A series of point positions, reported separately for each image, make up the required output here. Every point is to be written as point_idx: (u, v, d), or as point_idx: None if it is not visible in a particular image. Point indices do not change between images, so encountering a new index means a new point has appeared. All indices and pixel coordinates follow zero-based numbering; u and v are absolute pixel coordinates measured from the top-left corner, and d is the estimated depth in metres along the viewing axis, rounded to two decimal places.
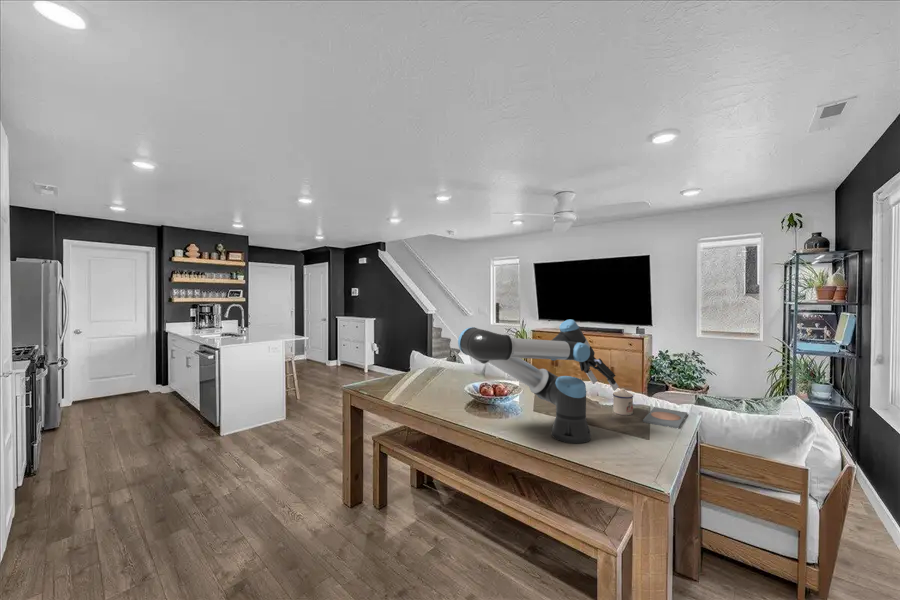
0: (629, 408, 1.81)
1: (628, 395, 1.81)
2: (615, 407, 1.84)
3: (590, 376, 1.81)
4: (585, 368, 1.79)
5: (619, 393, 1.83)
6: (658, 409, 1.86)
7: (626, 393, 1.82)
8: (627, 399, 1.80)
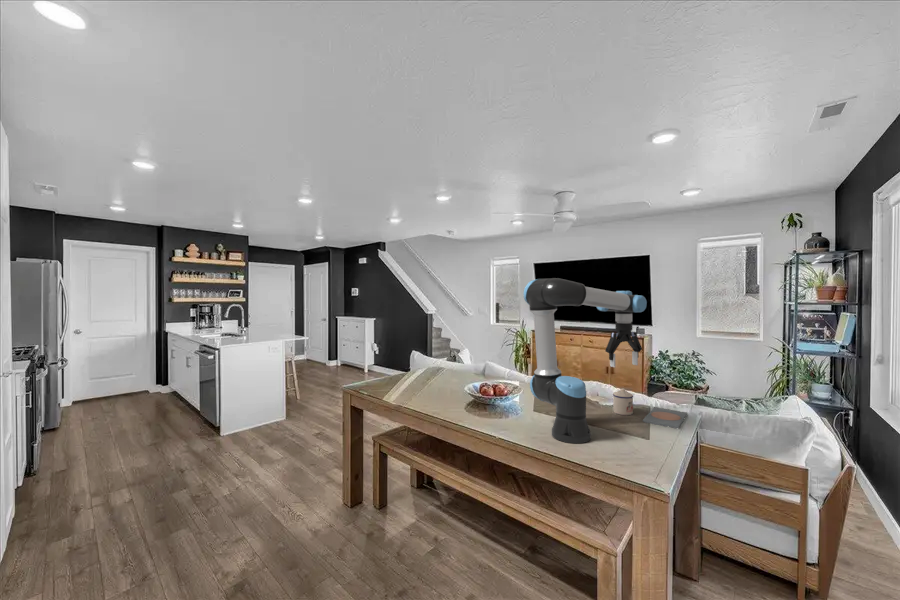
0: (629, 408, 1.81)
1: (628, 395, 1.81)
2: (615, 407, 1.84)
3: None
4: (616, 346, 1.82)
5: (619, 393, 1.83)
6: (658, 409, 1.86)
7: (626, 393, 1.82)
8: (627, 399, 1.80)
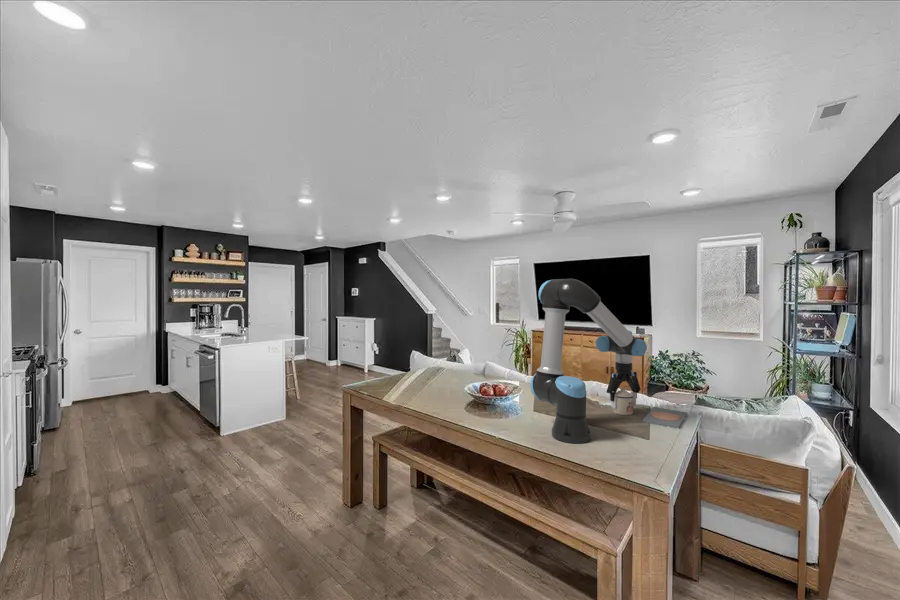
0: (629, 408, 1.81)
1: (628, 395, 1.81)
2: None
3: None
4: (617, 387, 1.83)
5: (619, 393, 1.83)
6: (658, 409, 1.86)
7: (626, 393, 1.82)
8: (627, 399, 1.80)
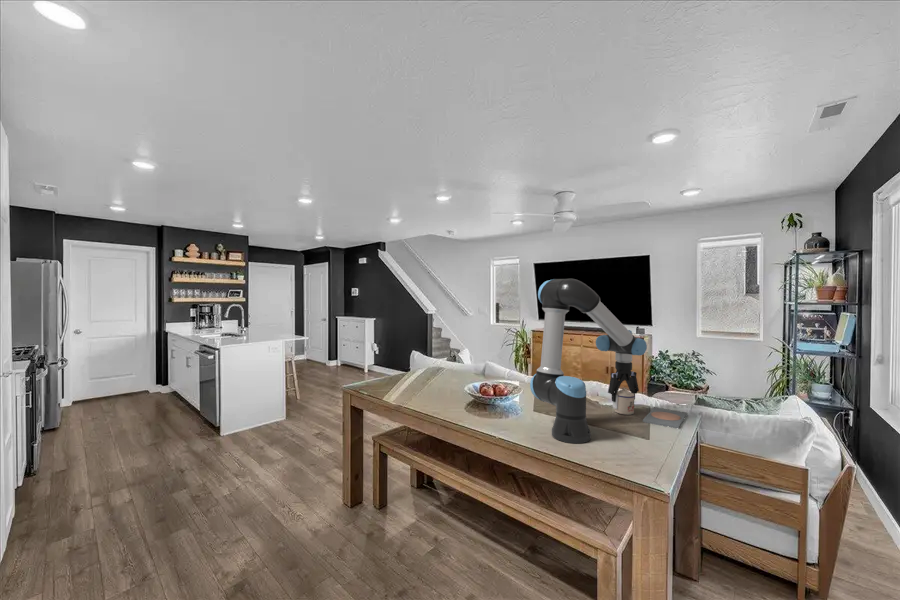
0: (630, 408, 1.81)
1: (630, 394, 1.81)
2: None
3: None
4: (618, 387, 1.83)
5: (621, 392, 1.83)
6: (658, 409, 1.86)
7: (628, 392, 1.82)
8: (628, 398, 1.81)
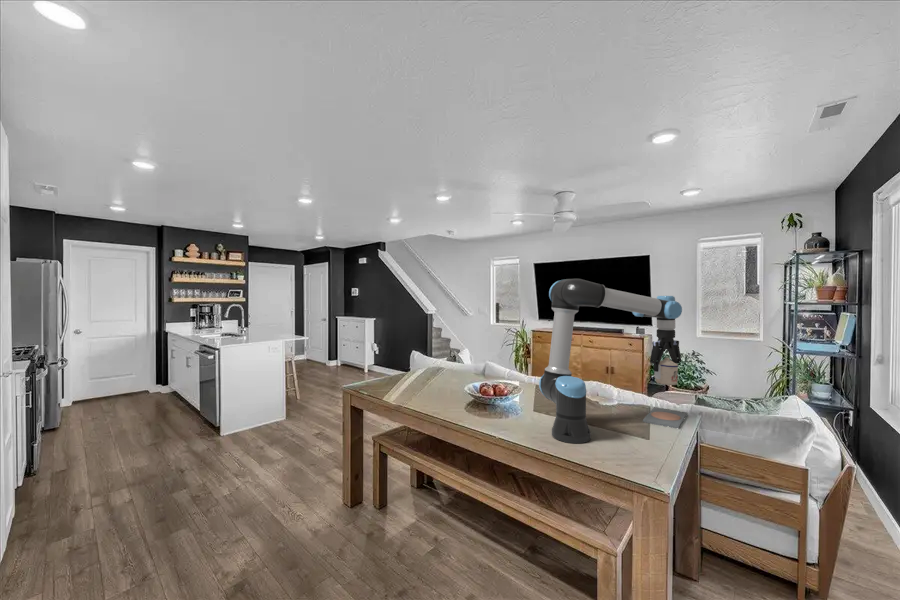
0: (674, 378, 1.71)
1: (673, 364, 1.72)
2: None
3: None
4: (661, 356, 1.73)
5: (663, 362, 1.73)
6: (658, 409, 1.86)
7: (671, 362, 1.73)
8: (672, 368, 1.71)
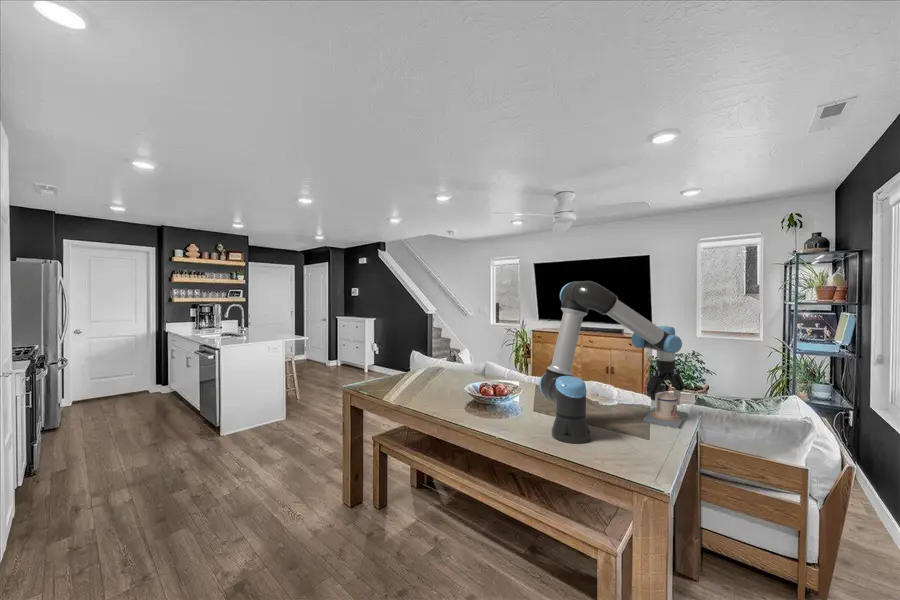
0: (673, 412, 1.71)
1: (672, 398, 1.72)
2: (658, 411, 1.74)
3: None
4: (659, 385, 1.73)
5: (662, 396, 1.74)
6: None
7: (670, 396, 1.73)
8: (671, 402, 1.71)
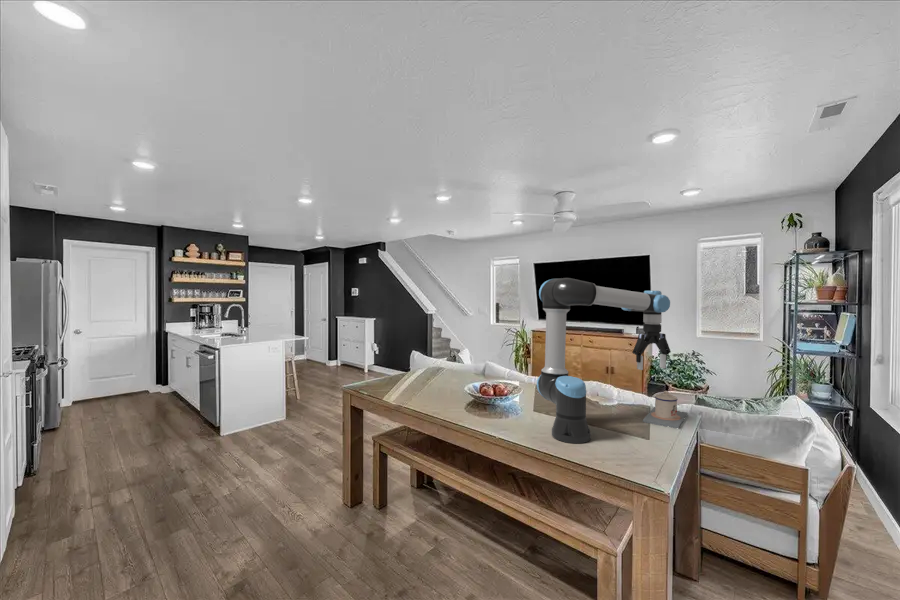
0: (673, 412, 1.71)
1: (672, 398, 1.72)
2: (658, 411, 1.74)
3: None
4: (644, 348, 1.75)
5: (662, 396, 1.73)
6: None
7: (670, 396, 1.73)
8: (672, 402, 1.71)
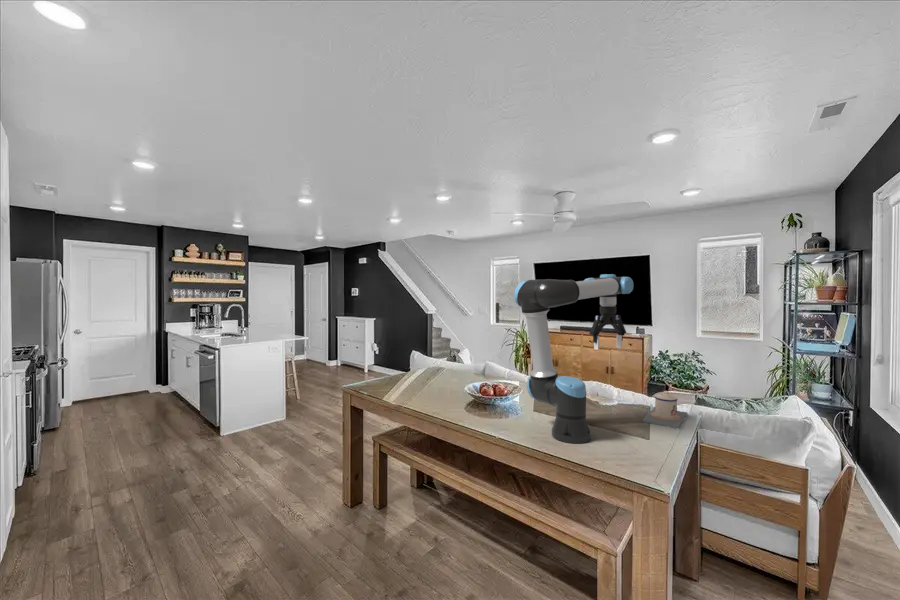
0: (673, 412, 1.71)
1: (672, 398, 1.72)
2: (658, 411, 1.74)
3: None
4: (600, 329, 1.84)
5: (662, 396, 1.74)
6: None
7: (670, 396, 1.73)
8: (672, 402, 1.71)
